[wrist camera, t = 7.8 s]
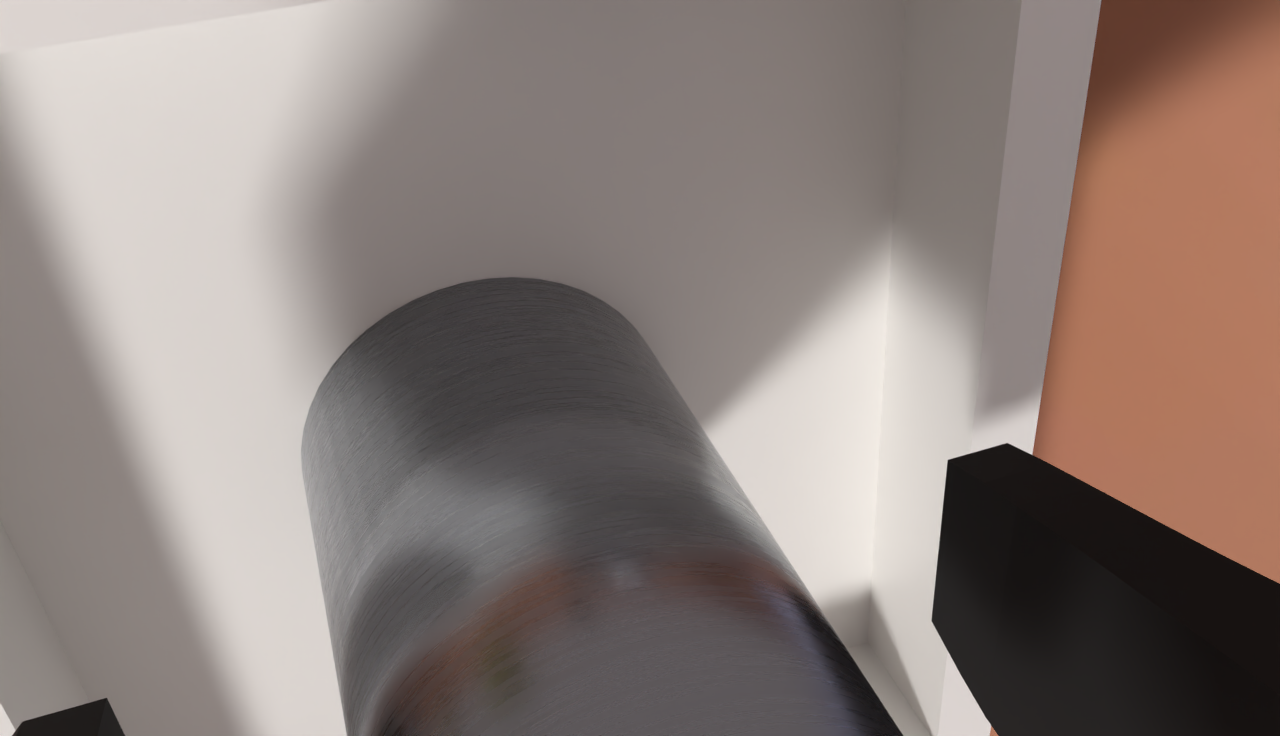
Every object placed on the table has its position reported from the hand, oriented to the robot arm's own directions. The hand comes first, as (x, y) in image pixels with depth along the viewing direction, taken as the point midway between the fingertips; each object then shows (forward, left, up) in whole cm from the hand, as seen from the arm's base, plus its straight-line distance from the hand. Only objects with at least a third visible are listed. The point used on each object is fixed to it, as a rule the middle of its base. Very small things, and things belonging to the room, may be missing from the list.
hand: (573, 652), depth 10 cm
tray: (0, 0, -4) cm, 4 cm away
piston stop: (0, 0, -3) cm, 3 cm away
